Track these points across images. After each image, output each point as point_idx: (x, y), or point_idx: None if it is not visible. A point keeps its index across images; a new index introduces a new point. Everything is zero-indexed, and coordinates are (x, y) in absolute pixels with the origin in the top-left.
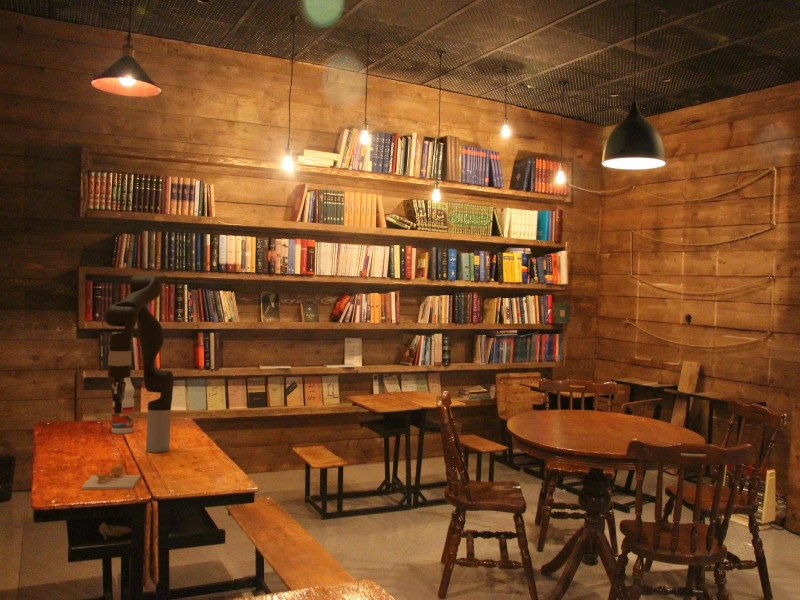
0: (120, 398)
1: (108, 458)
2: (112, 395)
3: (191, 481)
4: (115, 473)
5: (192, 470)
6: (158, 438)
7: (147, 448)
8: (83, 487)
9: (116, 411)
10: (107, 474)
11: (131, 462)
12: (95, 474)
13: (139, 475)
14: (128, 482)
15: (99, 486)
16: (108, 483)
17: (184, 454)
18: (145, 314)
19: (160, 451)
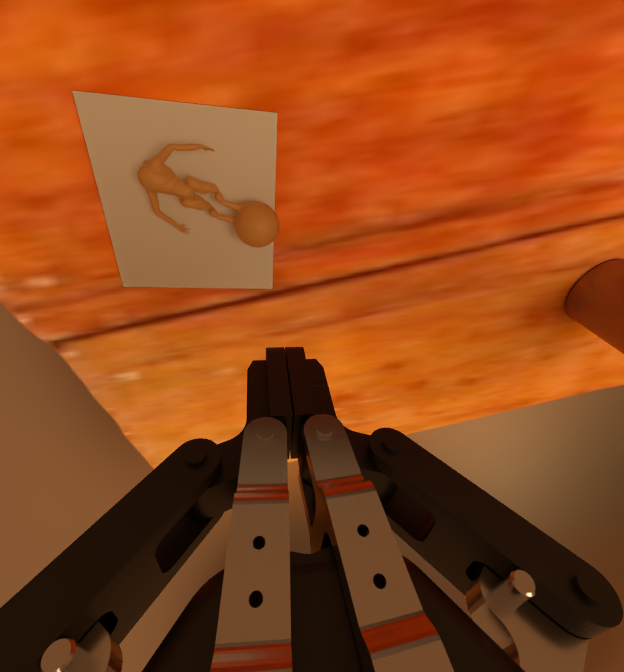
0: (184, 529)
1: (581, 140)
2: (65, 550)
3: (225, 400)
4: (228, 221)
5: (336, 390)
6: (605, 318)
7: (608, 269)
8: (76, 100)
9: (252, 371)
10: (185, 197)
11: (480, 233)
12: (164, 147)
13: (269, 287)
14: (175, 267)
15: (100, 172)
16: None
17: (514, 356)
18: None
19: (568, 302)
